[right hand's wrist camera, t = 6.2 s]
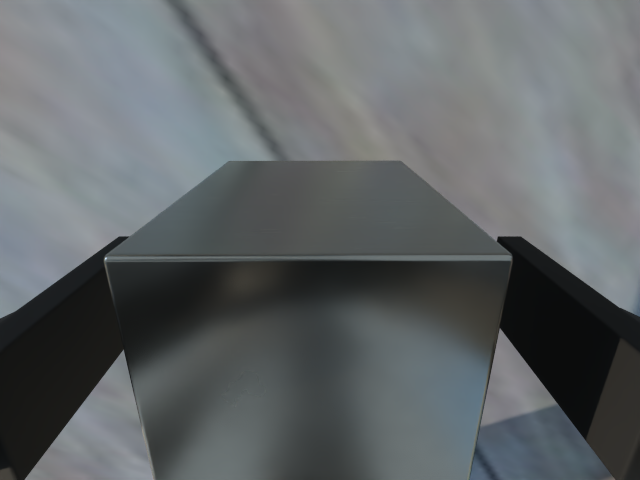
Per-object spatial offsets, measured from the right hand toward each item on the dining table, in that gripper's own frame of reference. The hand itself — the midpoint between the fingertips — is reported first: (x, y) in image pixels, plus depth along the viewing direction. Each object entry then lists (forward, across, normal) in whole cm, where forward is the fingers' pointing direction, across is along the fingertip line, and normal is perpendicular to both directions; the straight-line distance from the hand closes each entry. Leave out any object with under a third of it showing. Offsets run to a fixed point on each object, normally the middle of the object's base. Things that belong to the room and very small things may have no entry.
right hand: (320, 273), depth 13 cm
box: (+2, 0, -9) cm, 10 cm away
